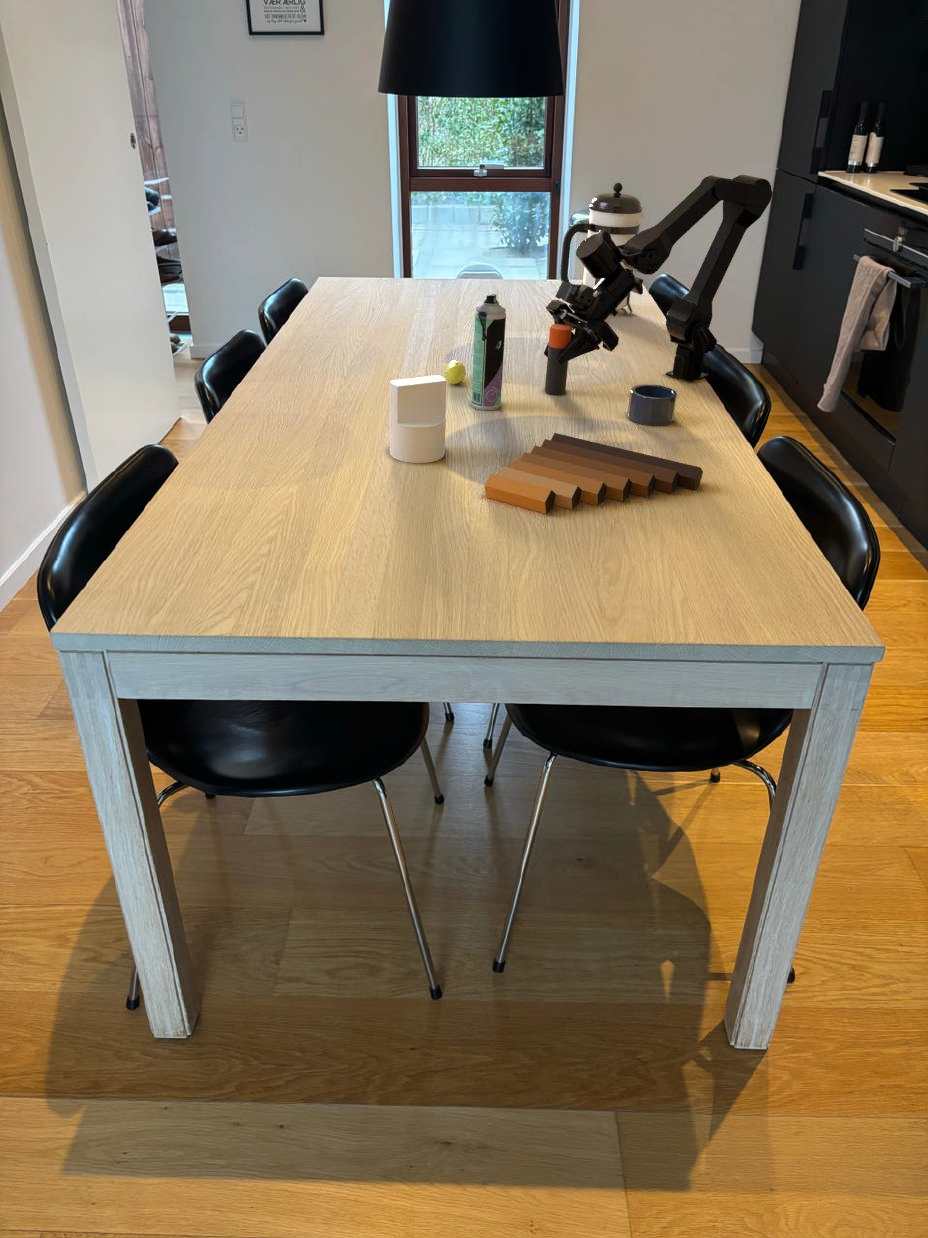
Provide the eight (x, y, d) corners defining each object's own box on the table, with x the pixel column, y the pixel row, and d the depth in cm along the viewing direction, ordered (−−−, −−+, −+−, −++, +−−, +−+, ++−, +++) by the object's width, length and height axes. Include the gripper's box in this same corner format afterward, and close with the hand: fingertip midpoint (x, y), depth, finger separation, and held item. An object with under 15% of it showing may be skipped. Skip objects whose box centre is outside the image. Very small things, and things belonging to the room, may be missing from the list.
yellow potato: (441, 386, 188) (442, 366, 186) (447, 374, 195) (448, 354, 193) (462, 387, 187) (463, 368, 185) (468, 375, 194) (469, 356, 192)
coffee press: (589, 300, 255) (602, 176, 240) (643, 310, 247) (660, 183, 232) (555, 311, 243) (566, 181, 227) (611, 323, 235) (626, 189, 220)
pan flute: (700, 484, 151) (557, 448, 162) (704, 463, 149) (559, 429, 160) (641, 542, 132) (483, 498, 143) (644, 520, 131) (484, 477, 141)
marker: (553, 386, 190) (559, 322, 184) (569, 392, 188) (576, 327, 181) (540, 391, 188) (545, 326, 181) (556, 396, 185) (562, 330, 179)
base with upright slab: (403, 466, 152) (403, 392, 146) (380, 446, 159) (380, 375, 153) (454, 458, 156) (456, 385, 150) (429, 439, 163) (431, 369, 157)
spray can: (497, 411, 176) (504, 299, 166) (468, 408, 177) (473, 296, 167) (502, 402, 181) (509, 292, 171) (474, 399, 182) (479, 289, 172)
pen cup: (644, 407, 182) (648, 381, 179) (681, 419, 177) (685, 392, 174) (618, 416, 177) (621, 390, 174) (655, 429, 172) (659, 401, 169)
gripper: (558, 255, 184) (504, 318, 186) (612, 276, 170) (553, 344, 172) (589, 295, 191) (536, 355, 193) (643, 318, 177) (586, 383, 179)
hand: (551, 358), depth 184 cm, fingers open, 5 cm apart
